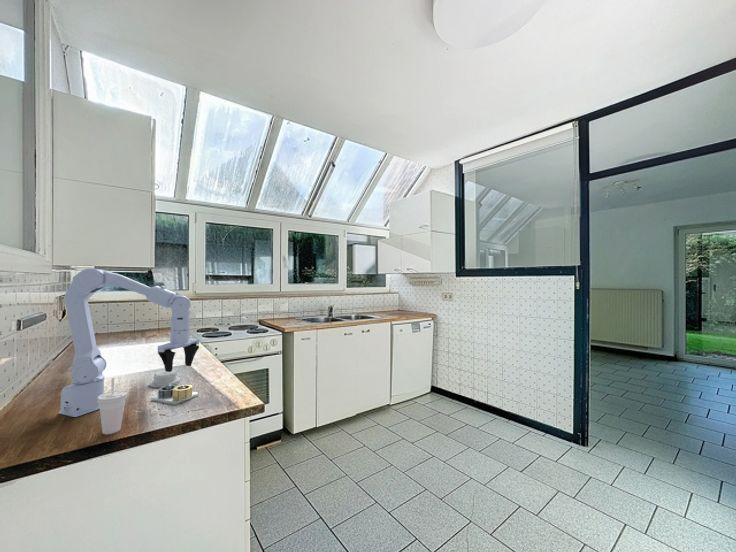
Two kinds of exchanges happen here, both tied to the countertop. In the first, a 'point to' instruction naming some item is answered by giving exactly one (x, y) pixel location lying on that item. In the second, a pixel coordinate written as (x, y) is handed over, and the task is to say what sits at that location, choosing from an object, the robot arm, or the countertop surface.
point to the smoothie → (112, 409)
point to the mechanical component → (164, 379)
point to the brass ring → (182, 392)
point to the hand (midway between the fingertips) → (178, 368)
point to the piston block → (170, 395)
